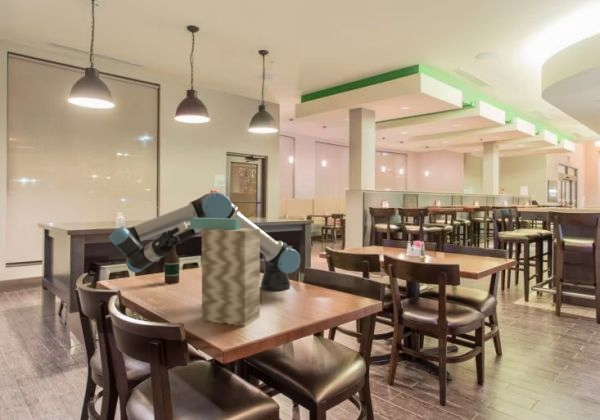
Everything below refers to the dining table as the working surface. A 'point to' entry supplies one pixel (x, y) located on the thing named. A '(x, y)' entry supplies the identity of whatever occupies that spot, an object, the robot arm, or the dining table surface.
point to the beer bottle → (172, 267)
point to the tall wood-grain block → (231, 276)
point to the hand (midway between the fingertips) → (196, 223)
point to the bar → (215, 223)
